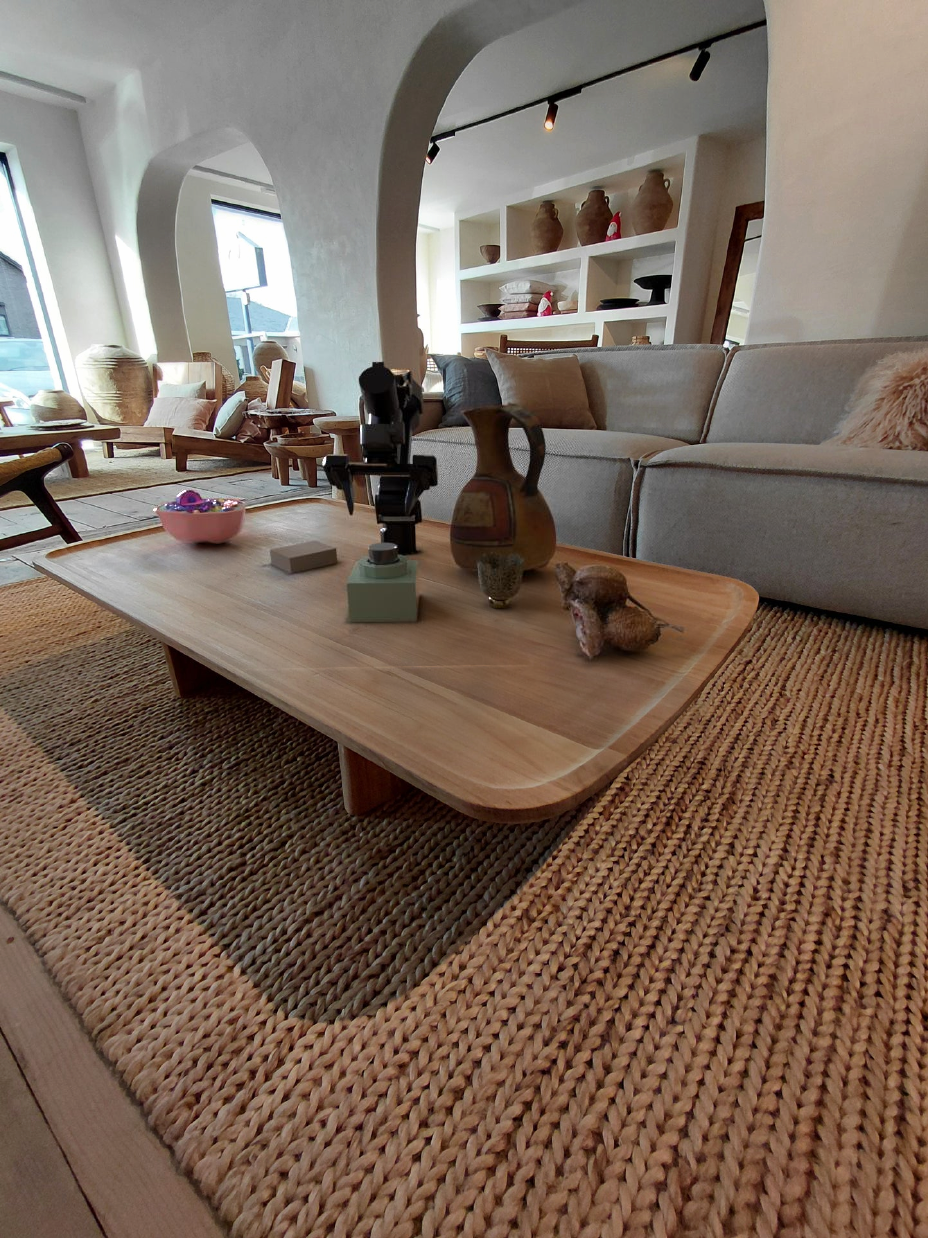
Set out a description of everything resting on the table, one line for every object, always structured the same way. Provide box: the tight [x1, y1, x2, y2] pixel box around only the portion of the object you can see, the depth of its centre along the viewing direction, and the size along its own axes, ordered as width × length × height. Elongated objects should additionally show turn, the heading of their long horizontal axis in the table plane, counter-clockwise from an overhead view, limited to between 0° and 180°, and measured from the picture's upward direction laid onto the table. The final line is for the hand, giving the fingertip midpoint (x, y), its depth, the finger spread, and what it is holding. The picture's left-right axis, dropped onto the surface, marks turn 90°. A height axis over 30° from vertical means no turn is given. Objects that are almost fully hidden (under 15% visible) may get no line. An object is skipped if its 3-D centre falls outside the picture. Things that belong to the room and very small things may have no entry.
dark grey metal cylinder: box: [367, 542, 398, 565], centre depth 88 cm, size 4×4×3 cm
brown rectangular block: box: [269, 540, 338, 574], centre depth 113 cm, size 10×8×3 cm
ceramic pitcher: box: [449, 402, 557, 572], centre depth 104 cm, size 20×20×30 cm
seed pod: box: [554, 562, 685, 661], centre depth 78 cm, size 13×16×15 cm
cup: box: [477, 551, 525, 610], centre depth 91 cm, size 8×7×8 cm
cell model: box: [153, 489, 247, 545], centre depth 125 cm, size 17×20×11 cm
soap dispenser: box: [346, 554, 420, 623], centre depth 90 cm, size 11×10×8 cm
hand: (378, 514), depth 94 cm, fingers open, 9 cm apart
